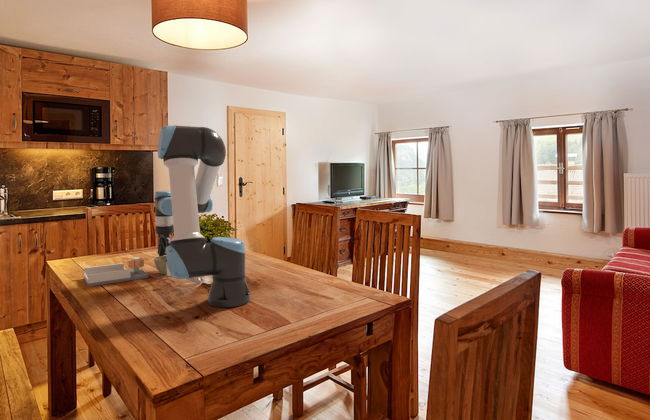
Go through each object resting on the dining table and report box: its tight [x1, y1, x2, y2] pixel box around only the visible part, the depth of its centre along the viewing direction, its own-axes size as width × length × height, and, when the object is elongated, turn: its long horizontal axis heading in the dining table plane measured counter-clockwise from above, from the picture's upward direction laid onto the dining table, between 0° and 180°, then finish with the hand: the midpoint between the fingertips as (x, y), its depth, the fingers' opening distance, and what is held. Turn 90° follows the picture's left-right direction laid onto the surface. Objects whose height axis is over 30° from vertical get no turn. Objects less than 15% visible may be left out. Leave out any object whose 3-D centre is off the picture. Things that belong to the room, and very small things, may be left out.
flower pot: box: [153, 255, 167, 275], centre depth 185 cm, size 10×10×7 cm
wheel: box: [127, 256, 145, 269], centre depth 181 cm, size 6×6×4 cm
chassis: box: [83, 262, 149, 287], centre depth 177 cm, size 14×23×5 cm, turn 127°
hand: (166, 272), depth 186 cm, fingers open, 11 cm apart
